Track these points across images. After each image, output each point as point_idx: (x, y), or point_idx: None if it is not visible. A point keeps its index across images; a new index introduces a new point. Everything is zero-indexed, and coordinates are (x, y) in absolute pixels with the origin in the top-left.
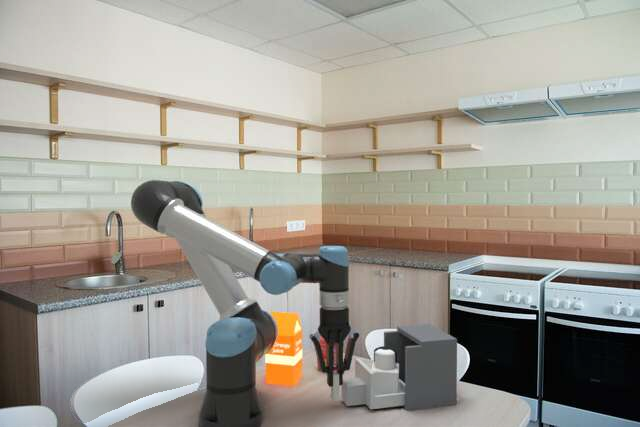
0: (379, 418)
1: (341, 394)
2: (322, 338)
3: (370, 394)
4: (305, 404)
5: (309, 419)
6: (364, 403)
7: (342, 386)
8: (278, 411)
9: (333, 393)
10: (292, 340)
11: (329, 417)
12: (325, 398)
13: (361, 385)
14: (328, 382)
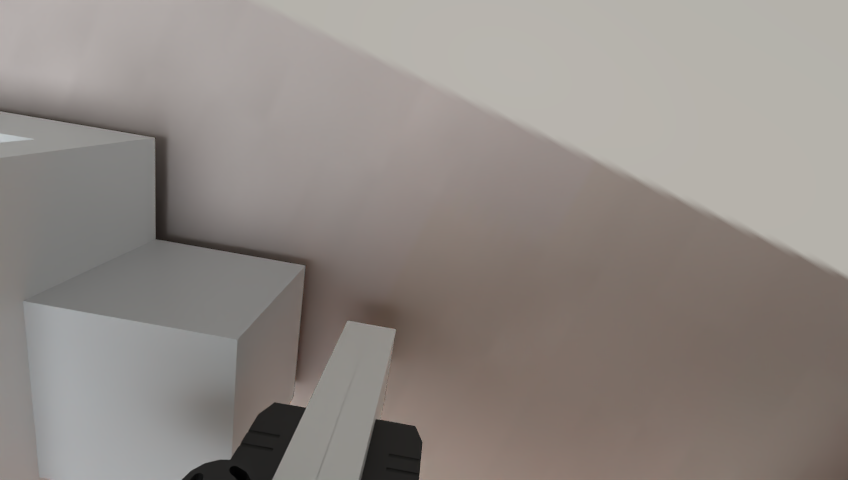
0: (139, 7)
1: None
2: None
3: (57, 150)
4: (557, 437)
5: (651, 223)
6: (163, 242)
7: None
8: (784, 423)
9: (388, 364)
10: None
11: (497, 190)
12: None
13: (77, 307)
14: (419, 464)
